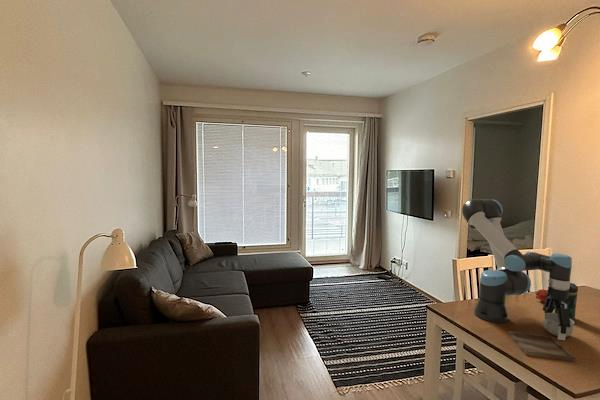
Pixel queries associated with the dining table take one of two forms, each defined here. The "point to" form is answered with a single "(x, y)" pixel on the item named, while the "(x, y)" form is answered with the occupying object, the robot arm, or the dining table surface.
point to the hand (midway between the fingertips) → (554, 333)
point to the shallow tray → (540, 346)
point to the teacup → (555, 324)
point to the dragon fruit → (542, 295)
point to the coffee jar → (571, 300)
